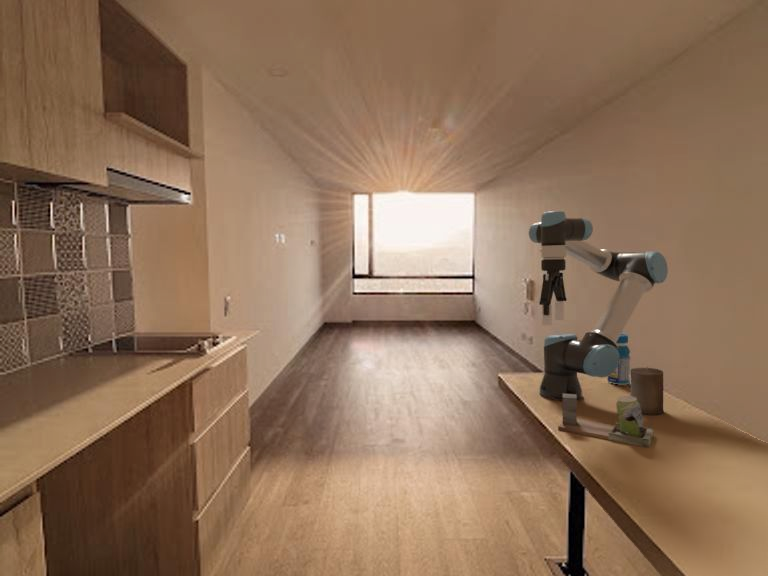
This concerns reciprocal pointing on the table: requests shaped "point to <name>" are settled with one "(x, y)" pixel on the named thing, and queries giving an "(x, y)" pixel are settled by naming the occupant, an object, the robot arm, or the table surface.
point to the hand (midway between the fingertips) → (553, 322)
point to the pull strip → (596, 426)
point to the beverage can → (630, 416)
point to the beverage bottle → (622, 363)
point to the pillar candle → (648, 389)
